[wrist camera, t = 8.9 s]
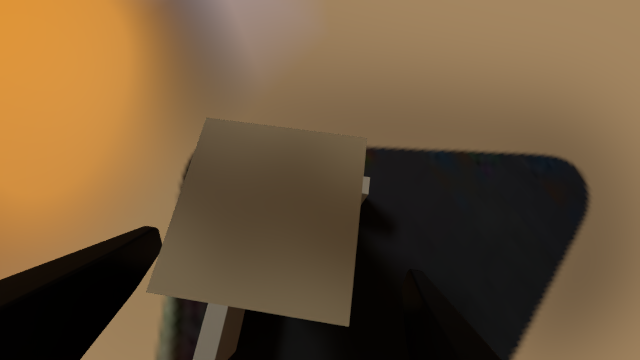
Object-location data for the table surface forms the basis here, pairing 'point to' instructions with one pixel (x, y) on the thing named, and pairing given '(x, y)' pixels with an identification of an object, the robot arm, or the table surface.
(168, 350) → the table surface
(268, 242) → the maple block
